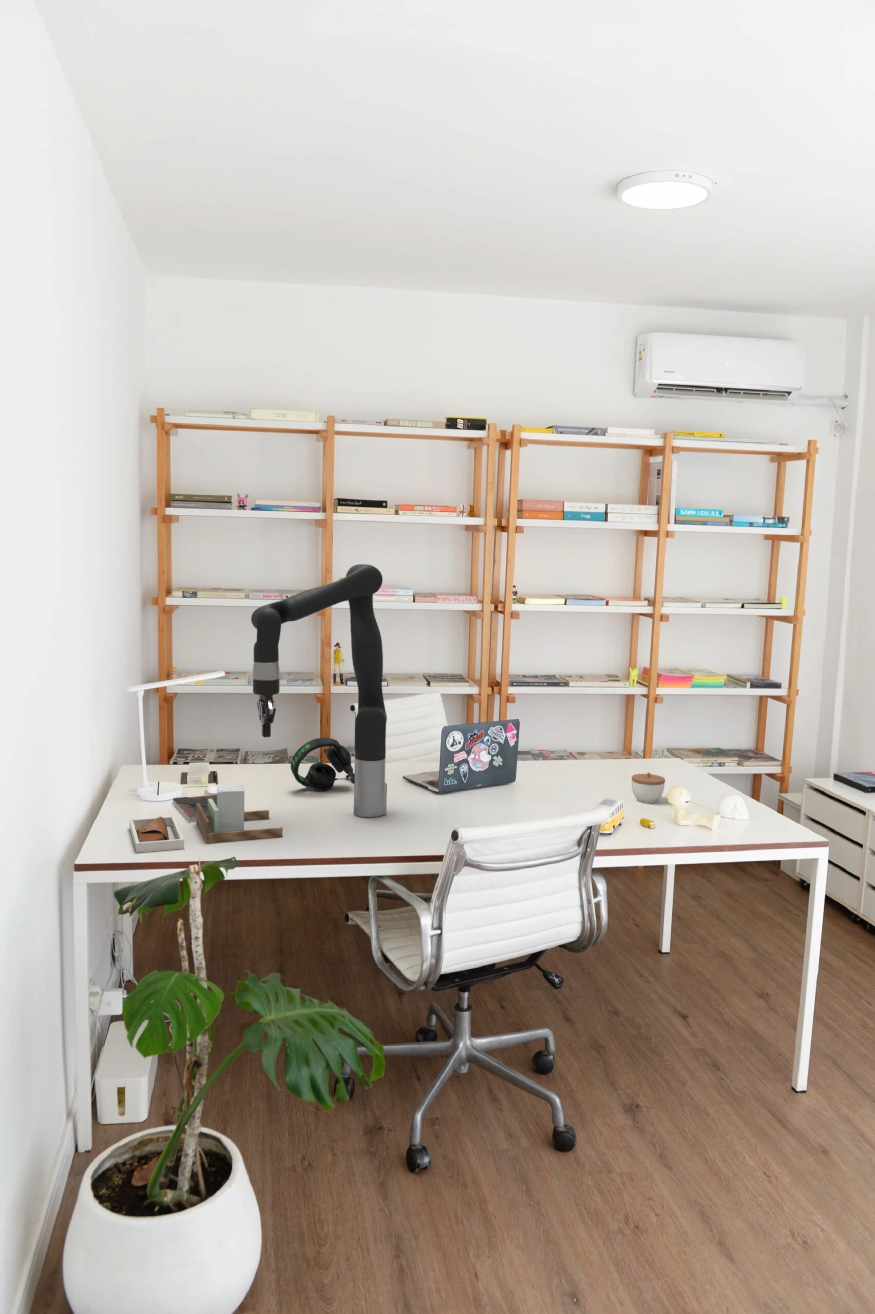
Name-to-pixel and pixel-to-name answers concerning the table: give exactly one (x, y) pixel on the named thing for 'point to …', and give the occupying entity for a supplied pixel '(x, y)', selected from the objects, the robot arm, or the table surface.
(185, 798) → the picture frame
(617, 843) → the table surface
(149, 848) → the case corral
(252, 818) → the lane
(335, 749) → the headset
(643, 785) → the lidded jar
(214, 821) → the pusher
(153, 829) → the sunglasses case
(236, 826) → the supplement box
